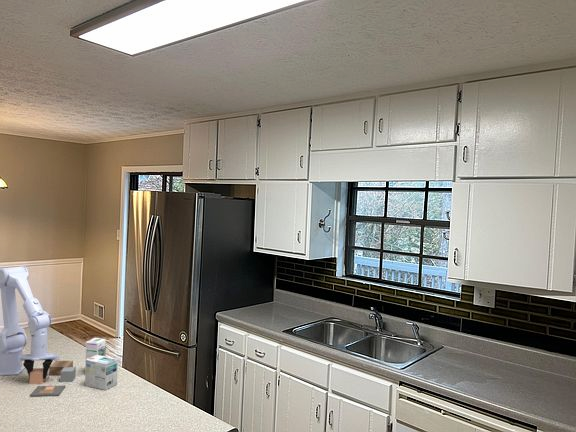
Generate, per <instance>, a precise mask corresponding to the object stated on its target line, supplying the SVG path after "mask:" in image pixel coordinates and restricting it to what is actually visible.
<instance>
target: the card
mask: <svg viewBox="0 0 576 432" xmlns="http://www.w3.org/2000/svg"><path fill="white" fill-rule="evenodd" d="M65 389H66V385H38V386H37V387H36V388H35V389H34V390H33V391H32V392H31V393H30V394H29V397H30V398H34V397H59V396H60V395H61V394H62V393H63V391H64V390H65Z"/></svg>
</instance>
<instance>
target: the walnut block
mask: <svg viewBox="0 0 576 432" xmlns="http://www.w3.org/2000/svg"><path fill="white" fill-rule="evenodd" d="M64 367H74V360H57V361H55V360H54V362H52V363H51V365H50V367H49V370H48V376H50V377H61V371H62V369H63V368H64Z"/></svg>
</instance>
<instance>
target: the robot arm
mask: <svg viewBox="0 0 576 432" xmlns="http://www.w3.org/2000/svg"><path fill="white" fill-rule="evenodd" d="M29 276H30V273H29V270H28V268H27V266H26V265H21V266H14V267H13V266H12V267H3V268H2V267H1V268H0V296H1V307H2V308H1V309H2V318H3V329H2V330H1V331H0V376H16V375H17V376H18V375H20V373H21V372H23V370H24V369H25V371H26V373H27V374H28V379H29V380H30V372H31V371H32V370H33V369H34V367H35V366H34V364H35V361H42V368H43V379H45V378H46V379H47V376H48V374H49V367H50V366H51V365H52V364H53V361H54V362H55V361H59V359H60V354H59V353H57V354H55V353H48V334H49V333H48V330H49V329H48V328H49V327H51V325H52V318H51V315H50V314H49V313H48V312H47V311H45V310H44V309H43V307H42V304H41V302H40V301H39V299H38V298H36V297H34V295H33V292H32V289H31V287H30V283H29V281H28V280H29ZM16 290H17V291H18V294H19V295H20V297H21V298H22V300H23V304H22V307H23V309H24V311H25V313H26V315H27V318H28V321H27V325H28V328H29V333H30V353H28V354H23V350H24V349H25V347H26V346H27V344H28V335H27V334H26V330H25V329H24V327H21V326H19V316H18V305H17V297H16V296H17V295H16ZM23 361H24V362H23ZM22 362H23V364H22Z"/></svg>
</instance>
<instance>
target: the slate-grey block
mask: <svg viewBox="0 0 576 432" xmlns="http://www.w3.org/2000/svg"><path fill="white" fill-rule="evenodd" d="M76 372H77V367H76V366H73V367H64V368H63V369H62V371H61V376H60V378H59V379H60V381H59V382H60V383H73V382H74V381H75V379H76V377H77V375H76Z"/></svg>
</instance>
